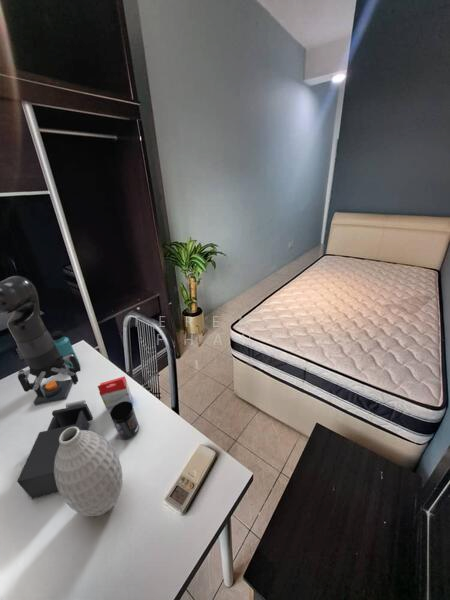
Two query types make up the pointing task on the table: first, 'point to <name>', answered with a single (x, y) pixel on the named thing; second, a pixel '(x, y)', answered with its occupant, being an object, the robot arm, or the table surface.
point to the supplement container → (124, 420)
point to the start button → (51, 386)
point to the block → (55, 392)
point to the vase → (87, 472)
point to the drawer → (71, 415)
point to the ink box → (115, 392)
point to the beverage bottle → (63, 345)
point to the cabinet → (42, 464)
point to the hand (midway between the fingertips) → (59, 389)
